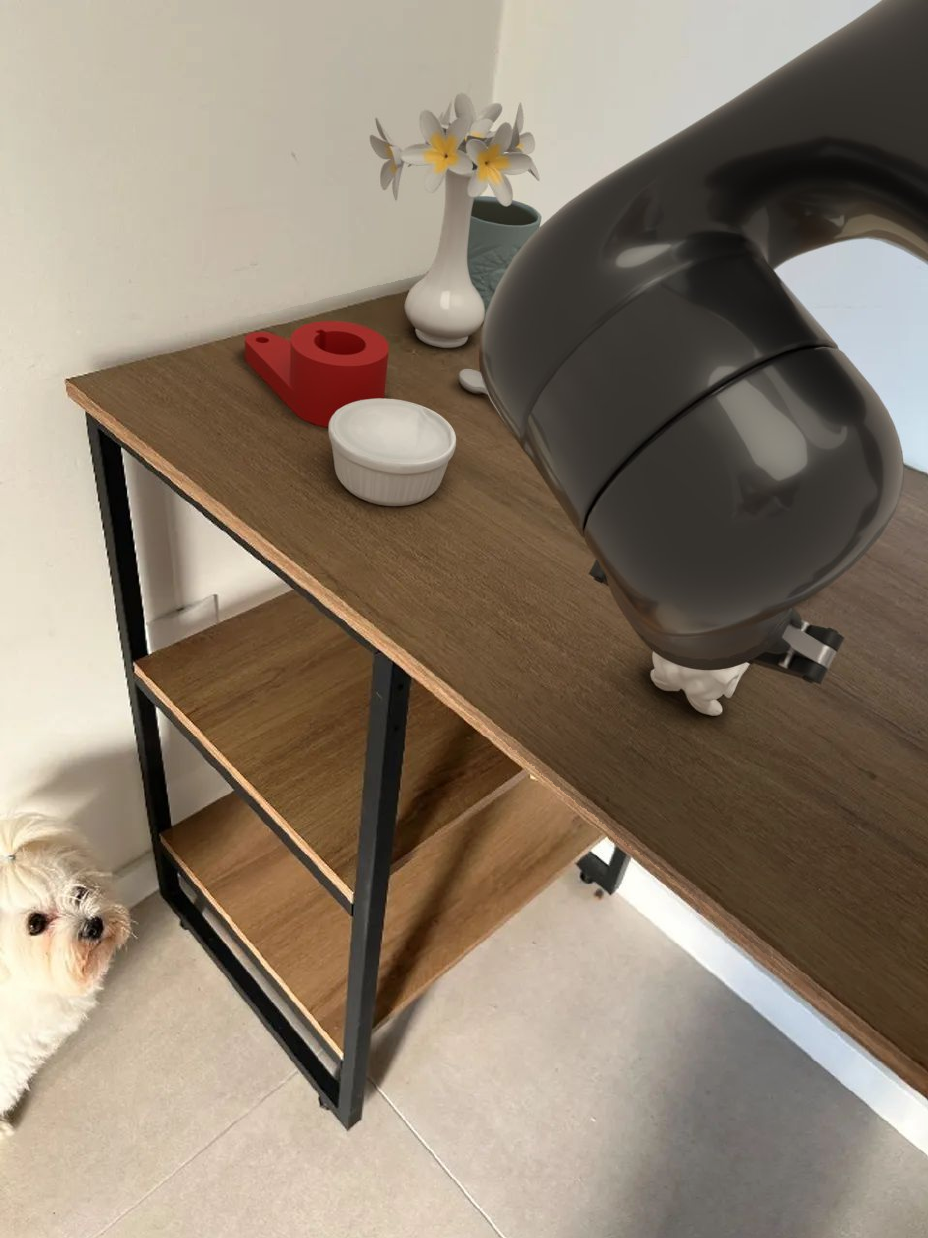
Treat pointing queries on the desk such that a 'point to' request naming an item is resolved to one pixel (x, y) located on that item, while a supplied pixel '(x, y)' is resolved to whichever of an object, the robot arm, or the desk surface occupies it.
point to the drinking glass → (496, 240)
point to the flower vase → (456, 205)
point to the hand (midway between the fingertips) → (715, 631)
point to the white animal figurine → (697, 683)
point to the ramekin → (390, 450)
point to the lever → (321, 366)
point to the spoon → (472, 381)
